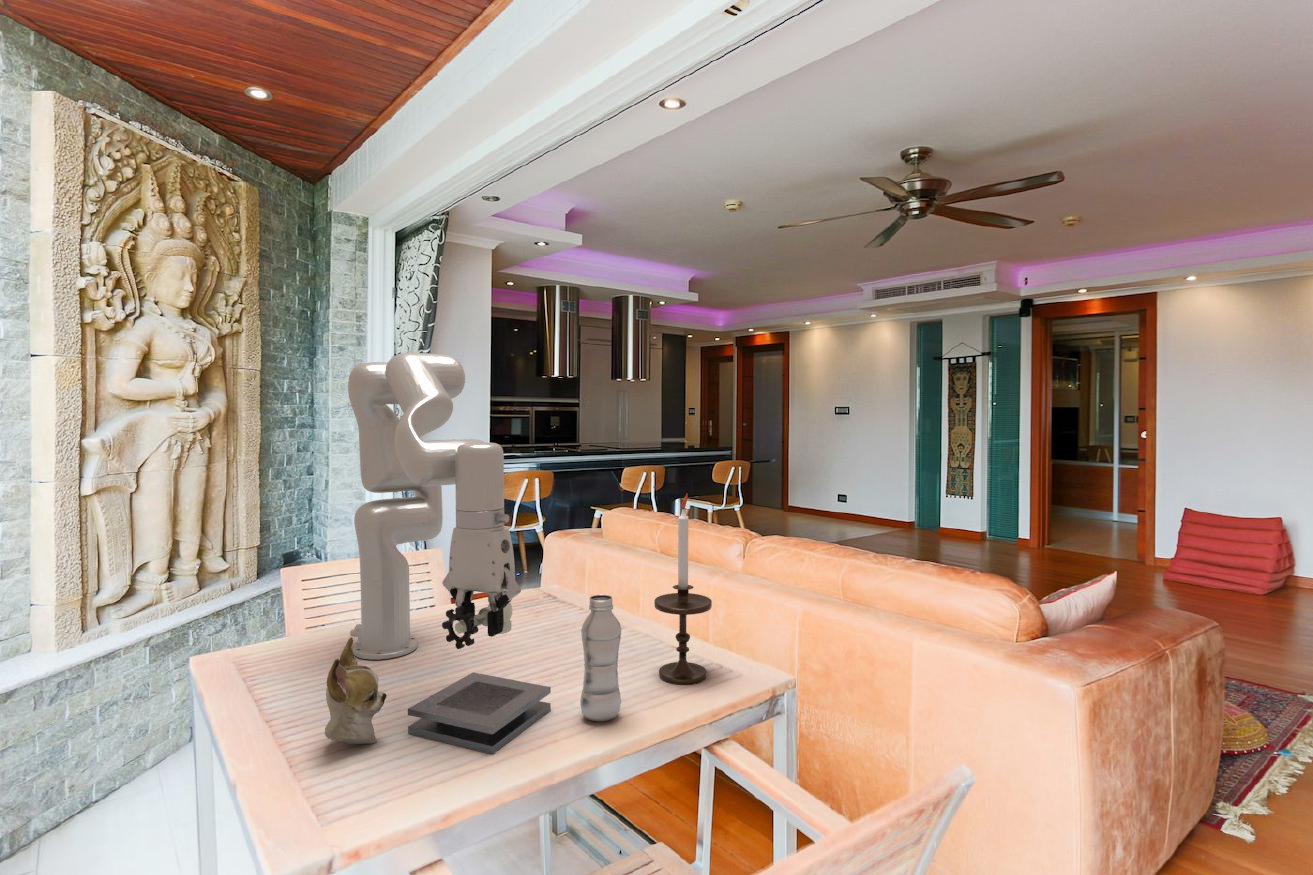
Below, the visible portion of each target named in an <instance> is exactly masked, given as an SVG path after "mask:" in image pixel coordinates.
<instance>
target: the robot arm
mask: <svg viewBox="0 0 1313 875" xmlns="http://www.w3.org/2000/svg"><path fill="white" fill-rule="evenodd" d="M464 370H465V369H464V367H463V365H462V364H461V362H460V360H459V359H457V358H456V357H454V356H453V355H450V354H446V353H429V352H428V353H426V352H403V353H399V354H396V355H394V356H393V357H391V358H390V359H389V360H388V361H387V362H385V361H382V362H381V361H375V362H373V361H372V362H371V361H370V362H364V363H360V364H358V365H356V366H355V367H353V368H352V369H351V371H350V374H349V376H348V384H347V390H348V391H347V392H348V398H349V403H350V405H351V408H352V411H353V414H354V417H355V419H356V423H357V427H358V428H357V429H358V445H359V466H360V467H359V470H360V479H361V484H362V486H363V488H364V489H365V490H366V491H368V492H369V493H375V494H377V493H378V494H380V493H381V494H382V493H383V494H386V493H399V492H409V491H410V492H413V493H414V496H412V497H411V496H410V497H408V496H407V497H396V498H395V497H394V498H384V499H376V500H375V499H374V500H371V501H368V502H365V503H363V504H361V505H360V506H359V507H358V508H357V510H356V511H355V514H354V518H353V522H354V523H353V524H354V530H355V535H356V539H357V540H356V541H357V545H358V546H357V547H358V555H359V570H360V571H359V573H360V574H359V575H360V576H359V577H360V623H361V624H360V623H358V624H356V625H355V626H354V629H352V630H350V633H349V635H350V637H354V638H355V637H356V638H357V643H355V645H354V646H353V648H352V650H353V654H354V657H357V658H359V659H362V660H371V661H373V660H377V661H378V660H388V659H393V658H398V657H402V656H405V655H408V654H410V653H412V652H414V651H415V650H417V648H418V646H419V639H417V638H416V637H414V636H412V635H411V616H410V615H411V611H410V610H411V608H410V607H411V606H410V605H411V604H410V602H411V601H410V598H411V596H410V595H411V594H410V566H409V565H410V564H409V561H408V560H407V558H406V557H405V556H404V554H403V553H402V552H401V551H400V550H399V549H398V548H397V546H398V545H400V544H402V545H403V544H406V543H413V542H422V541H428V540H432V539H435V538H436V537H437V536H438V535H439V534H440V533H441V531H442V528H443V518H444V517H443V495H442V494H443V492H442V491H443V490H442V489H443V488H442V487H443V486H452V485H455V527H453V530H452V534H451V539H450V546H449V556H448V557H449V559H448V573H447V574H446V576H445V577H444V579H443V580H442V586H443V587H444V588H445V590H447V591H448V592H449V595H450V596H451V597H452V598H453V599H454V601H455V602H454V605H455V606H456V607H459V606H463V607H464V609H465V610H463V611H462V613H463V614H465V615H466V614H468V613H473V614H474V616H475V615H476V605H475V602H472V601H473V596H474V592H478V593H486V594H487V601H488V600H489V602H488V605H489V604H490V608H491V611H489V612H488V614H487V615H488V626H487V636H488V637H491V638H493V637H495V636H496V635H500V634H499V633H501V632H502V631H503V626H504V614H503V608H505V607H506V606H507V604H508V603H509V602H510V601H511V602H512V600H513V599H514V598H516V596H518V595H519V594H520V593H521V592H522V590H521V587H520V586H519V584H518V582H517V581H516V570H515V569H516V568H515V555H514V547H513V546H514V545H513V542H512V536H511V533H510V532H511V531H510V528H509V527H505V524H507V523H509V522H510V515H509V514H505V472H504V471H505V467H504V466H505V464H504V463H505V462H504V461H505V460H504V459H505V458H504V457H505V456H504V449H503V447H502V446H501V445H500V444H498V443H496V442H486V441H483V440H480V439H475V438H474V439H472V438H469V439H465V438H464V439H434V440H431V439H430V440H429V439H428V440H423V439H421V438H420V437H422V436H425V435H426V434H429V433H431V432H434V431H436V430H438V429H439V428H441V427H442V426H443V425H445V424H446V423H447V422H448V421H449V420H450V418H451V416H452V414H453V410H454V404H453V399H454V398H457V397H458V396H459V395H461V393H462V392H463V390H464V388H465V385H466V384H465V383H466V373H465V371H464ZM388 405H399V407H400V408H401V411H402V413H403V414H402V415H401V416H400V418H399V417H398V415H397V414H396V413H395V411H394V410H393V409H392V408H391V407H390V406H388ZM505 588H506V590H508V591H507V592H506V593H504V589H505ZM496 594H497V598H496ZM497 599H498V600H497ZM511 602H510V603H511Z"/></svg>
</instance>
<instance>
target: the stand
mask: <svg viewBox="0 0 1313 875" xmlns="http://www.w3.org/2000/svg"><path fill="white" fill-rule="evenodd" d="M551 688H552V687H551V686H547V685H543V684H542V685H541V684H536V683H531V682H525V681H520V680H515V679H510V678H504V677H501V676H500V677H499V676H494V675H489V674H484V673H480V672H479V673H477V672H474V671H473V672H471V673H469V674H468V675H465V676H464V677H462V678H461V679H458V680H456V681H455V682H453V683H452V684H450V685H448V686H446V687H444V688H442V689H441V690H439V691H437V692H435V693H433V694H432V695H430V696H428V697H426V698H425V699H422V700H421V701H419V702H417V703H416V704H414V705H412V706H410V707H408V708H407V716H411V717H415V718H419V719H418V720H415V721H414V722H413V723H411V724H409V725H408V726H407V734H408V735H412V736H416V737H420V738H424V739H428V740H430V741H431V740H433V741H436V742H440V743H443V744H444V743H445V744H449V745H452V746H456V747H461V748H465V749H469V750H473V751H477V752H481V753H485V754H489V755H494V754H495V753H497V752H498V751H499V750H500V749H502V748H503V747H504V746H506V745H508V744H509V743H510V742H511V741H512V740H514V739H515V738H516V737H518V736H519V735H520V734H521V733H523V732H524V731H526V729H528V728H529V727H531V726H532V725H533V724H535V723H536V722H538V721H539V720H540V719H541V718H542V717H544V716H545V715H546V714H548V713H549V712H551V709H552V707H551V703H550V702H544V701H542V700H543V699H544V698H546V697H547V696H549V695H550V694H551V691H552V690H551Z"/></svg>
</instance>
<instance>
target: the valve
mask: <svg viewBox="0 0 1313 875" xmlns="http://www.w3.org/2000/svg"><path fill="white" fill-rule="evenodd" d="M503 589H504V593H506V592H507V591H508V589H505V588H503ZM496 598H497V594H496ZM497 600H498V599H497ZM487 601H488V605H487V606H486V607H483V608H481V609H480V610H478V613H477V614H475V616H474V614H473V613H468V614H466V615H465V614H463V613H462V611H463V610H465V609H464V607H463V606H459V607H457V606H456V607H455V608H454V609H453V608H450V609H447V610H446V611H445V616H446V618H448V620H445V621H444V622H442V623H441V627H442V629H443V630H447V631H448V634H447V635H446V636H445V640H446V642H447V643H451V642H453V641H455V648H456V649H457V650H460V649H462V648H463V649H464V647H465V646H467V647H471V646H472V645H474V644H475V638H471V636H472V635H474V634H477V633H478V632H479V626H484V627H488V615H487V614H488V612H489V611H491V608H490V604H489V600H488V599H487ZM511 602H512V600H511V601H510V602H509V603H508V604H507V606H506V607H505V608H503V614H504V626H503V631H502V632H501V633H499V634H498V635H503V634H507V633H509V632H510V631H512V620H511V618H512V615H513V605H512V603H511ZM454 612H455V613H454ZM455 621H458V622H456V623H455V624H454V622H455ZM455 631H456V632H455ZM457 633H458V634H462V633H463V635H462V636H461V637H460V636H459V635H457Z"/></svg>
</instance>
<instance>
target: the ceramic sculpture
mask: <svg viewBox="0 0 1313 875" xmlns="http://www.w3.org/2000/svg"><path fill="white" fill-rule="evenodd" d="M353 637H354V636H350V637H349V638H348V640H347V642H346V644H345V646H344V648H343V650H342V652H341V654H340V657H339V658H337V657H336V658H335V659H334V661H333V663H332V665H331V667H330V670H329V671H328V674H327V677H326V678H327V679H326V693H325V696H326V697H325V700H326V705H327V707H328V710H329V715H330V719H329V721H328V722H327V724H326V725H325V728H324V736H325V737H326V738H327V739H329V740H332V741H337V742H340V741H341V742H344V743H345V744H352V745H361V744H362V745H367V744H371V745H372V744H375V743H377V737H376V735H375V734H376V733H375V729H374V724H373V722H372V720H373V717H374V716H375V715H376V714H378V713H379V712H380V711H381V710H382V707H383V706H384V704H385V701H386V700H387V693H386V692H382V691H379V677H378V676H379V675H378V674H377V673H376V672H375V671H374V670H373V669H372V668H371V667H370V666H366V665H363V664H362V665H360V664H358V661H357V659H356V658H355V655H354V651H353V648H352V647H353V644H354V638H353Z"/></svg>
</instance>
